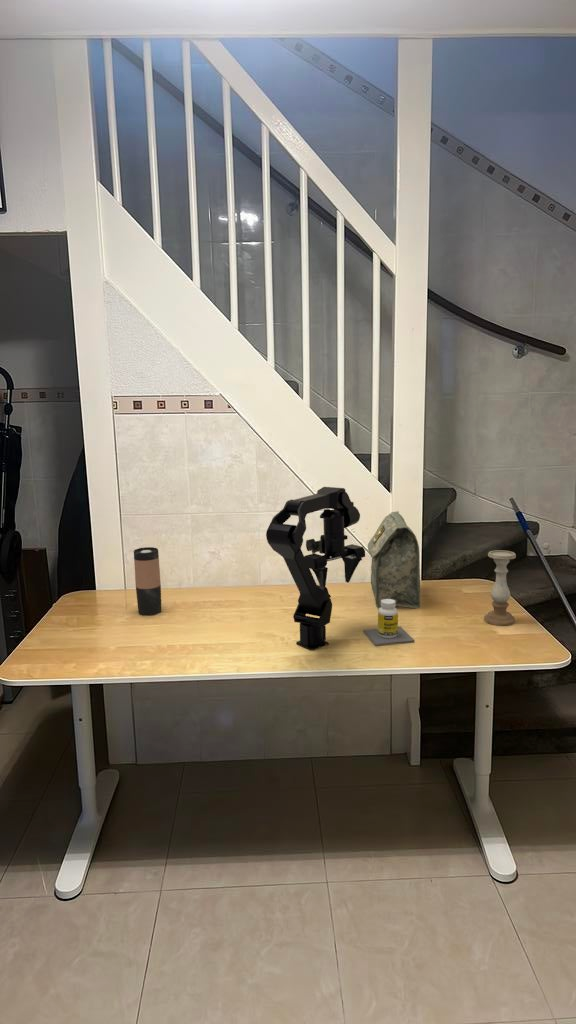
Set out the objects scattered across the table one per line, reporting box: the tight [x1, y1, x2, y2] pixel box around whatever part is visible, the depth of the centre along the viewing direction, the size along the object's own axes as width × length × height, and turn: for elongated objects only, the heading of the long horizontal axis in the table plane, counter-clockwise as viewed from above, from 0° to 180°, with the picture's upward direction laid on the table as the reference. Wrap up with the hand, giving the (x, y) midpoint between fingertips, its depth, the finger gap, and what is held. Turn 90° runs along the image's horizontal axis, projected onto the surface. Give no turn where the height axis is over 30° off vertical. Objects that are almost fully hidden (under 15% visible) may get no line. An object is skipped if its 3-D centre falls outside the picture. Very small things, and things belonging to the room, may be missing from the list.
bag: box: [367, 510, 421, 609], centre depth 221 cm, size 22×16×27 cm
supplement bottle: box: [377, 599, 399, 638], centre depth 189 cm, size 5×5×10 cm
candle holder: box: [483, 549, 517, 627], centre depth 199 cm, size 9×9×20 cm
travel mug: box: [133, 546, 162, 617], centre depth 215 cm, size 8×8×20 cm
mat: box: [363, 625, 415, 647], centre depth 190 cm, size 11×11×1 cm
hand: (335, 585), depth 194 cm, fingers open, 9 cm apart
